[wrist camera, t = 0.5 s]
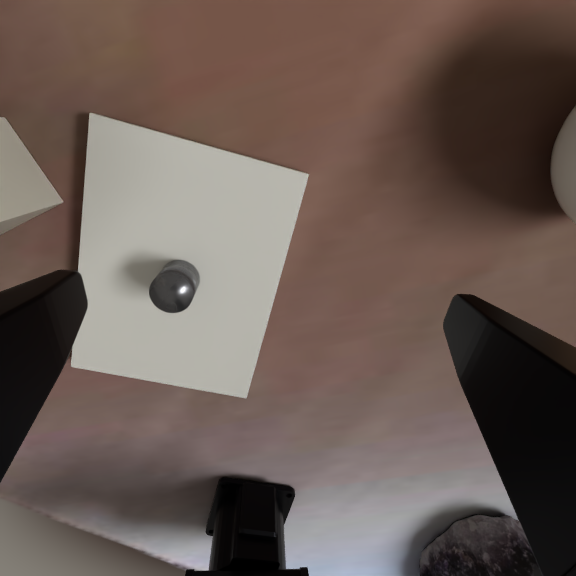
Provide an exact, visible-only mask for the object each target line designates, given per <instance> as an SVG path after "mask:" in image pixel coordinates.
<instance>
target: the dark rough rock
mask: <svg viewBox="0 0 576 576" xmlns="http://www.w3.org/2000/svg"><path fill="white" fill-rule="evenodd" d="M420 576H543V575H542V573H541V571H540V568H539V566H538V564H537V561H536V559H535V557H534V554H533V552H532V550H531V547H530V545H529V543H528V540H527V538H526V536H525V533H524V531H523V529H522V526H521V524H520V522H519V521H518V520H515V519H513V518H512V517H510V516H502V517H499V518H498V517H489V516H484V515H475V516H472V517H469V518H466V519H463V520H459V521H456V522H455V523H454V524H453V525H452V526H451V527H450V528H449V529H448V530H447V531H446V532H445V533H443V534H442V535H441V536H439V537H437V538H436V540H434V541H433V542H432V543H431V544H429V545H428V547H427V548H425V549H424V550H423V551H422V553H421V558H420Z"/></svg>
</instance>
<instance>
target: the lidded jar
mask: <svg viewBox="0 0 576 576" xmlns="http://www.w3.org/2000/svg"><path fill="white" fill-rule="evenodd" d="M550 172H551V183H552V187H553V190H554V194H555V196H556V198H557V201H558V203H559V205H560V207H561V208H562V209H563V211H564V212H565V213H566V215H567V216H568V217H569V218H570V219H571V220H572V222H574V223H575V224H576V106H575V107H574V108H573V109H572V111H571V112H570V114H569V115H568V117H567V118H566V120H565V122H564V124H563V126H562V127H561V129H560V131H559V133H558V136H557V138H556V141H555V143H554V146H553V151H552V155H551V169H550Z"/></svg>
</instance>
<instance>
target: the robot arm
mask: <svg viewBox="0 0 576 576" xmlns="http://www.w3.org/2000/svg"><path fill="white" fill-rule="evenodd" d="M87 308H88V300H87V296H86V291H85V287H84V283H83V279H82V276H81V274H80V273H79V272H78V271H75V270H57V271H54V272H52V273H49V274H46V275H44V276H41V277H38V278H36V279H33V280H30V281H28V282H25V283H22V284H20V285H17V286H14V287H12V288H9V289H6V290H4V291H1V292H0V482H1V481H2V479H3V477H4V475H5V473H6V471H7V470H8V468H9V466H10V464H11V462H12V461H13V459H14V457H15V455H16V453H17V451H18V450H19V448H20V446H21V444H22V442H23V441H24V439H25V437H26V435H27V433H28V431H29V430H30V428H31V426H32V424H33V422H34V420H35V419H36V417H37V415H38V413H39V411H40V410H41V408H42V406H43V404H44V402H45V400H46V399H47V397H48V395H49V393H50V391H51V390H52V388H53V386H54V384H55V382H56V380H57V379H58V377H59V375H60V373H61V371H62V369H63V367H64V365H65V363H66V361H67V359H68V356H69V354H70V352H71V349H72V347H73V344H74V342H75V339H76V337H77V334H78V332H79V329H80V327H81V324H82V322H83V319H84V317H85V314H86V311H87ZM443 329H444V333H445V336H446V339H447V342H448V346H449V349H450V352H451V356H452V359H453V362H454V366H455V369H456V372H457V375H458V378H459V381H460V384H461V386H462V389H463V391H464V393H465V396H466V398H467V400H468V403H469V405H470V407H471V410H472V412H473V414H474V417H475V419H476V421H477V424H478V426H479V428H480V431H481V433H482V435H483V438H484V440H485V442H486V445H487V447H488V449H489V452H490V454H491V456H492V459H493V461H494V463H495V466H496V468H497V470H498V473H499V475H500V477H501V480H502V482H503V484H504V487H505V489H506V491H507V494H508V496H509V498H510V501H511V503H512V505H513V508H514V510H515V512H516V515H517V517H518V519H519V522H520V524H521V526H522V529H523V531H524V533H525V536H526V538H527V540H528V543H529V545H530V547H531V550H532V552H533V554H534V557H535V559H536V561H537V564H538V566H539V568H540V571H541V573H542V575H543V576H576V347H574V346H572V345H570V344H568V343H566V342H564V341H562V340H560V339H558V338H556V337H554V336H552V335H550V334H548V333H547V332H545V331H543V330H541V329H539V328H537V327H535V326H533V325H531V324H529V323H527V322H525V321H523V320H521V319H519V318H517V317H515V316H513V315H511V314H510V313H508V312H506V311H504V310H502V309H500V308H498V307H496V306H494V305H492V304H490V303H488V302H486V301H484V300H482V299H480V298H478V297H476V296H474V295H471V294H457V295H455V296H454V297H453V299H452V301H451V303H450V306H449V308H448V311H447V314H446V316H445V319H444V322H443ZM288 493H289V494H288ZM294 497H295V490H294V489H293V488H292V487H286V486H279V485H272V484H265V483H259V482H252V481H245V480H238V479H231V478H221V479H220V480H219V482H218V486H217V490H216V493H215V497H214V501H213V504H212V508H211V512H210V515H209V519H208V522H207V526H206V534H207V535H210V536H213V540H212V548H211V556H210V563H209V571H194V569H187V570H186V574H185V576H309V574H308V568H307V567H300V569H286V561H285V542H284V524H285V521H286V518H287V516H288V513H289V511H290V508H291V505H292V503H293V500H294Z"/></svg>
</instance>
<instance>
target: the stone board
mask: <svg viewBox="0 0 576 576" xmlns="http://www.w3.org/2000/svg"><path fill="white" fill-rule="evenodd" d="M308 176H309V174H308V173H305V172H302V171H298V170H295V169H291V168H288V167H284V166H281V165H277V164H273V163H270V162H266V161H263V160H259V159H256V158H252V157H249V156H245V155H241V154H238V153H234V152H231V151H227V150H224V149H220V148H217V147H213V146H210V145H206V144H202V143H199V142H195V141H192V140H188V139H185V138H181V137H178V136H174V135H171V134H167V133H163V132H160V131H156V130H153V129H149V128H146V127H142V126H139V125H135V124H132V123H128V122H124V121H121V120H117V119H114V118H110V117H107V116H103V115H100V114H95V113H90V114H89V127H88V141H87V155H86V168H85V182H84V196H83V209H82V223H81V237H80V250H79V264H78V272H79V273H80V274H81V276H82V279H83V283H84V287H85V291H86V296H87V300H88V308H87V311H86V314H85V317H84V319H83V322H82V324H81V327H80V329H79V332H78V334H77V337H76V339H75V342H74V344H73V347H72V360H71V367H75V368H81V369H86V370H92V371H97V372H103V373H109V374H114V375H120V376H125V377H131V378H136V379H142V380H147V381H153V382H158V383H164V384H169V385H175V386H181V387H186V388H192V389H197V390H203V391H208V392H214V393H219V394H225V395H230V396H236V397H242V398H247V394H248V391H249V387H250V384H251V380H252V377H253V373H254V369H255V366H256V362H257V359H258V355H259V352H260V348H261V344H262V341H263V337H264V334H265V330H266V326H267V323H268V319H269V316H270V312H271V309H272V305H273V301H274V298H275V294H276V291H277V287H278V284H279V280H280V276H281V273H282V269H283V266H284V262H285V259H286V255H287V251H288V248H289V244H290V241H291V237H292V233H293V230H294V226H295V223H296V219H297V216H298V212H299V208H300V205H301V201H302V198H303V194H304V191H305V187H306V183H307V180H308ZM173 260H184V261H187V262H189V263H191V264H192V265H194V266H195V268H196V269H197V270H198V272H199V275H200V284H199V286H198V289H197V291H196V293H195V295H194V298H193V300H192V302H191V304H190V305H189V307H188V308H187V309H185V310H184V311H182V312H178V313H167V312H164V311H162V310H160V309H158V308H157V307H156V306H155V305H154V304H153V302H152V301H151V299H150V296H149V288H150V285H151V283H152V281H153V280H154V279H155V277H156V276H157V275H158V274H159V272H160V271H161V270H162V269H163V267H164V266H165V265H166V264H167V263H169V262H171V261H173Z"/></svg>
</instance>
